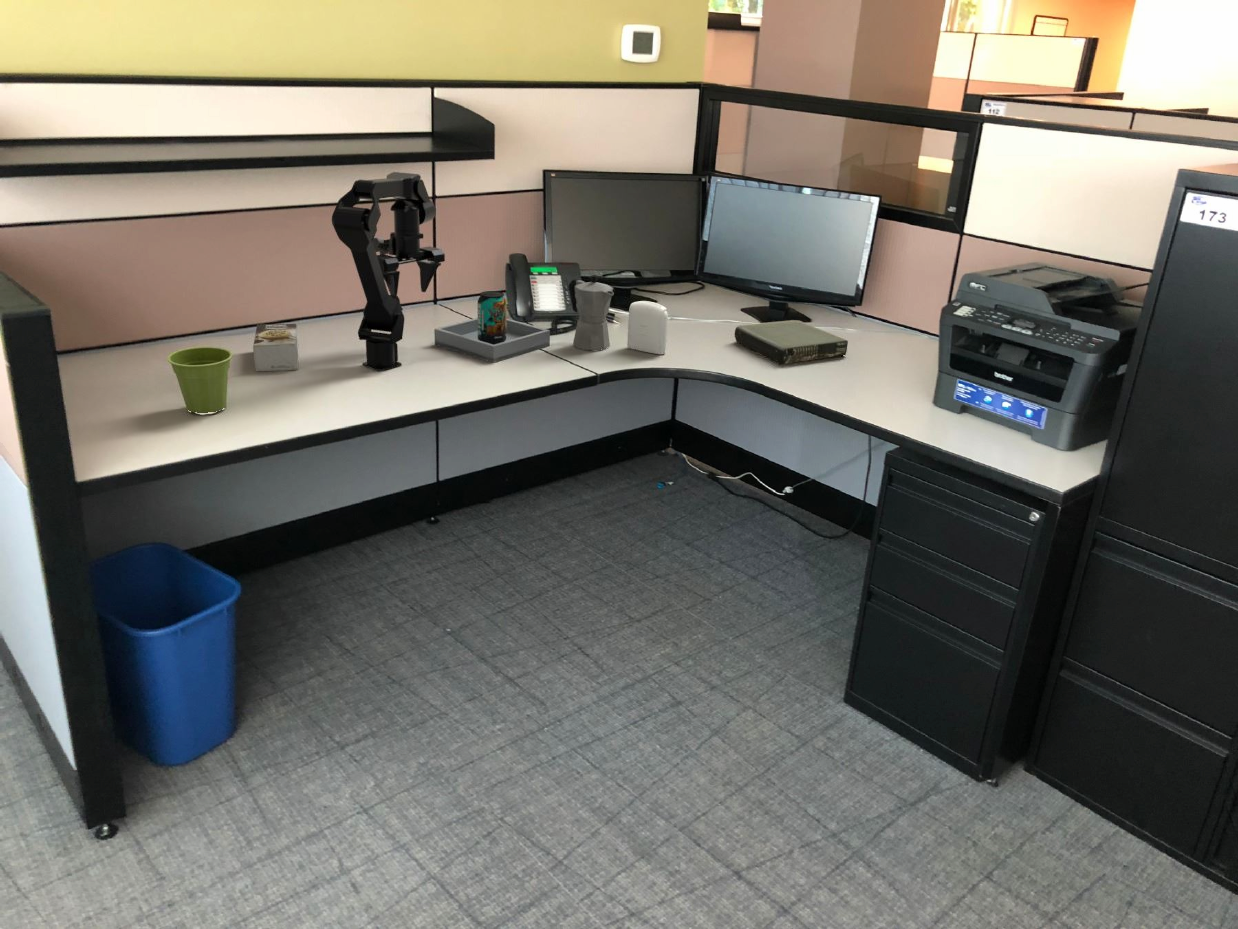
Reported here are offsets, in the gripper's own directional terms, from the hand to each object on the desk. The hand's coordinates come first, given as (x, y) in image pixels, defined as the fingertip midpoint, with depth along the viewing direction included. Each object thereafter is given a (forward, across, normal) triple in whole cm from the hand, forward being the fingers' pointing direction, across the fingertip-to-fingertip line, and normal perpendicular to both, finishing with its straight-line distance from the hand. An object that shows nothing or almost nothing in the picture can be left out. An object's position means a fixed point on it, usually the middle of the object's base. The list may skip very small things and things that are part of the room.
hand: (408, 295), depth 240 cm
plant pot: (+13, +57, +4) cm, 59 cm away
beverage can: (+12, -16, +12) cm, 23 cm away
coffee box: (+10, +33, -6) cm, 35 cm away
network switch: (+14, -69, +66) cm, 96 cm away
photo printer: (+13, -41, +41) cm, 59 cm away
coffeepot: (+13, -34, +28) cm, 46 cm away
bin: (+13, -16, +12) cm, 24 cm away
